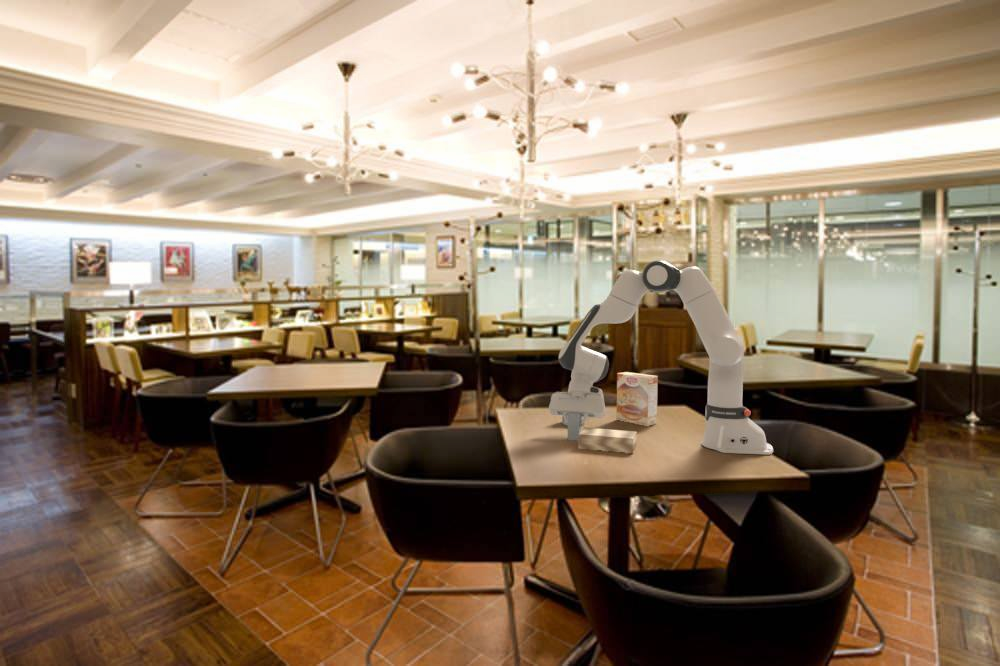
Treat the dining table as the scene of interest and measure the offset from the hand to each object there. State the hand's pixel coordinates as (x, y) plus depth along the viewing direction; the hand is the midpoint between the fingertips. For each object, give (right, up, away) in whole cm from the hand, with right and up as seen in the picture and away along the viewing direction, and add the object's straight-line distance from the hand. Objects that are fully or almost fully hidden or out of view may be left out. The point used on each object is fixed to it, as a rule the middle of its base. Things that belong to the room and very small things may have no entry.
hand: (573, 425), depth 205 cm
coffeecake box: (+29, -3, +28) cm, 40 cm away
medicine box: (+3, -4, +26) cm, 26 cm away
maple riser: (+10, -6, -10) cm, 15 cm away
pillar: (0, -5, +1) cm, 5 cm away
